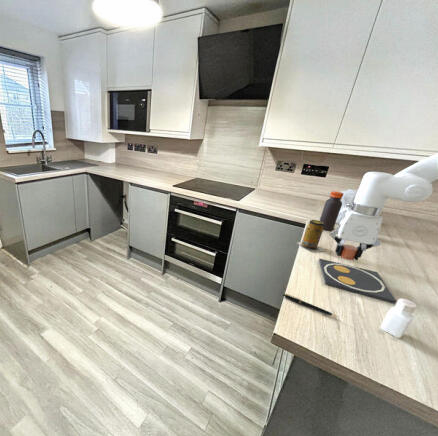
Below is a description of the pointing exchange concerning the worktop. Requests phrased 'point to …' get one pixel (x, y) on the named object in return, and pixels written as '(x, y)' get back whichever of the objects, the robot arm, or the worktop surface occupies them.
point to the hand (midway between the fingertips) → (346, 255)
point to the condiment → (312, 236)
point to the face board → (355, 280)
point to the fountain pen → (307, 304)
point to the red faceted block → (348, 252)
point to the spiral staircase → (347, 198)
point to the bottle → (331, 210)
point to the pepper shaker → (399, 318)
